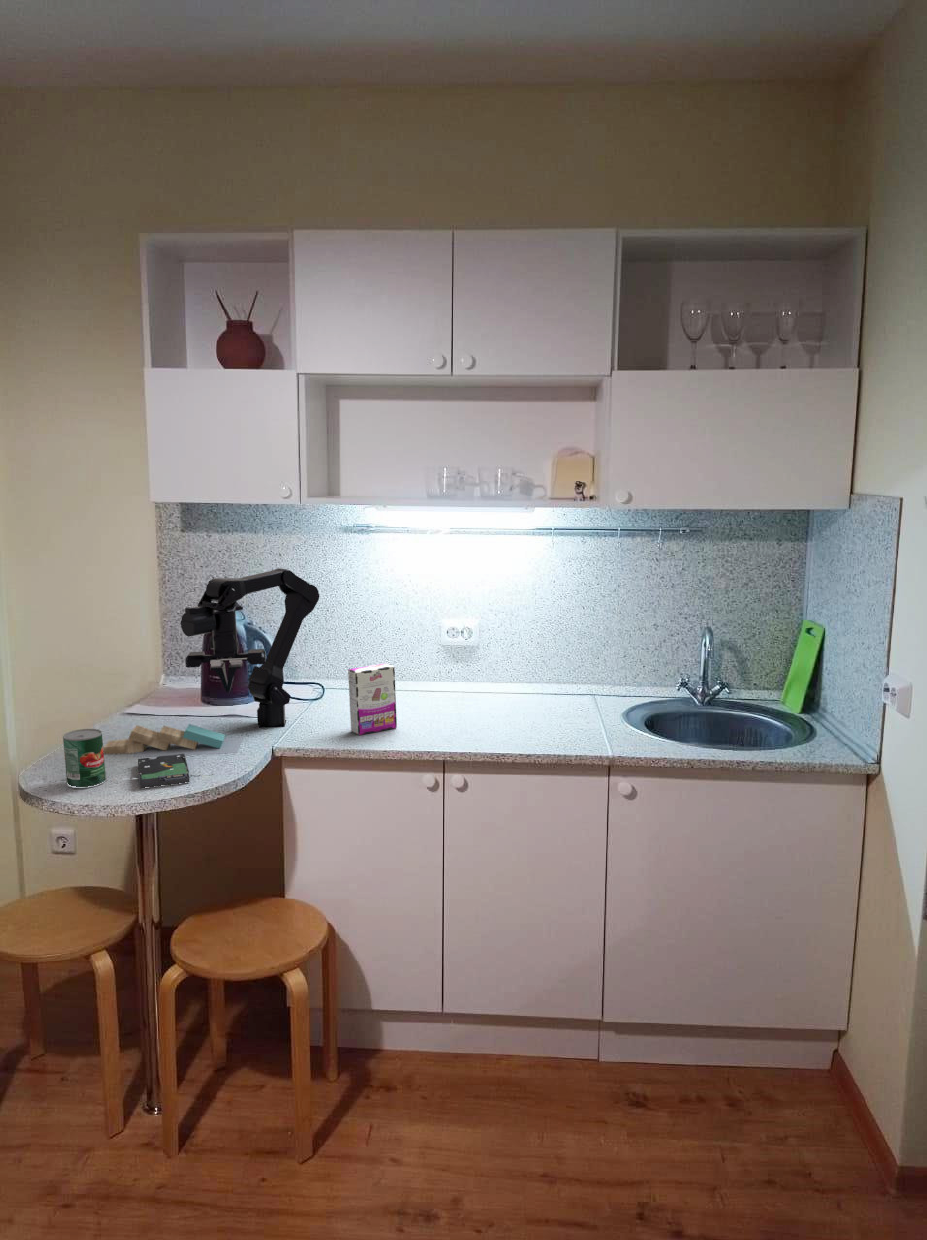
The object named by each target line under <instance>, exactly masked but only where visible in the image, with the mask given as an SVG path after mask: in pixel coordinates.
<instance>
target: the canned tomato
mask: <svg viewBox="0 0 927 1240" xmlns="http://www.w3.org/2000/svg"><path fill="white" fill-rule="evenodd" d="M62 739H63V740H62V742H63V752H64V764H65V777H66V784H67V783H68V784H69V785H71V786H76V787H88V786H94V785H97V784H100V783H102V782H104V781H105V780H106V781H107V778H106V767H105V766H106V765H105V756H104V755H105V754H104V748H103V747H104V743H103V731H102V730H101V729H98V728H80V729H75V730H70V731H68V732H66V733H64V734H62ZM106 781H105V782H106ZM105 782H104V783H105Z"/></svg>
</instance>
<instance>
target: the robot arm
mask: <svg viewBox="0 0 927 1240" xmlns="http://www.w3.org/2000/svg"><path fill="white" fill-rule="evenodd" d="M276 587H278V588H279V590H280V592H281V593H283V594H284V595H285V598H284V608H285V613H284V615H283V617H282V620H281V623H280V625H279V627H278V630H277V632H276V635H275V638H274V640H273V642H272V644H271V646H270V649H269V651H268V654H267V656H266V650H265V649H264V648H255V649H254V648H252V649H251V648H250V649H249V650H248V652H244V653H242V652H241V653H239V652H240V643H239V639H238V634H237V633H238V632H237V631H238V630H237V615H236V614H237V613H236V612H237V611H242V610H244V607H243V606H242V605H240V603H238V602H237V601H240V600H242V599H244V597H246V595H249V594H252V593H257V592H260V591H261V592H262V591H263V590H268V589H272V588H273V589H274V588H276ZM320 596H321V594H320V592H319V589H318V587H317V586H316V585H314V584H310V583H309V582H308V581H306V580H305V579H303V578H301V577H300V576H298V575H296V574H295V573H294V571H292V570H290V569H288V568H281V567H279V568H275V569H274V570H270V571H265V572H261V573H255V574H252V575H248V576H243V577H239V578H238V577H237V578H235V577H234V578H233V577H231V578H230V577H229V578H227V577H221V578H220V577H218V578H217V577H216V578H215V577H214V578H212V579H210V580H209V581H208V582H207V584H206V588H205V590H204V592H203V595H202V596H201V598H200V600H199V602H198V603H197V606H194V607H190V606H189V607H185V608H184V613H183V614H182V617H181V620H180V627H181V630H182V632H183V635H185V636H186V637H194V636H200V635H201V636H202V635H206V634H211V633H212V635H210V636H209V648H210V650H213V654H206V653H205V651H202V650H201V651H190V652H188V654H187V655H186V656H185V668H187V669H188V668H199V667H201V665H203V663H204V664H205V663H207V664H208V663H210V669H209V670H211V671H215V673H216V675H217V676H218V677H219V680H220V682H221V685H222V686H223V689H224V691H225V693H230V692H231V689H232V685H233V681H234V678H235V675H236V671H237V670H239V669H242V666H243V662H247V663H249V664H250V665H252V666H253V665H255V666H253V668H252V670H251V674H250V676H249V677H248V678H247V681H248V684H247V688H248V691H249V694H250V695H251V696H252V698H253V700H254V702H255V703H258V707H257V710H256V716H257V718H256V719H257V726H258V728H259V729H268V728H269V729H270V728H271V729H272V728H273V729H274V728H285V727H286V723H287V719H286V706H285V705H288V704H290V701H291V698H292V697H291V694H290V693H288V691H287V690H285V689H284V688H283V686H284V682H285V679H284V668H285V664H286V663H287V660H288V657H289V655H290V652H291V650H292V647H293V645H294V643H295V641H296V638H297V635H298V633H299V630H300V628H301V626H302V623H303V621H304V619H305V618H307V616H309V615H310V614H311V612H312V611H314V609H315V607H316V606H317V604H318V602H319V601H320ZM226 662H229V665H228V672H226V671H227V670H226ZM256 665H261V666H256ZM227 673H228V675H227Z"/></svg>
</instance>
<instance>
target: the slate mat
mask: <svg viewBox="0 0 927 1240" xmlns="http://www.w3.org/2000/svg"><path fill="white" fill-rule="evenodd" d="M243 741H244V737H225V739H224V742H223V744H222V746H221V748H220V749H219V748H216V747H212V746H209V745H205V744H202V743H199V744H198V745H197V747H196V749H195V750H193V749H190V748H186V747H182V746H179V745H175V744H171V745H170V746H169V748H168V749H167V750H166V751H165V750H161V749H158V748H155V747H152V746H149V745H148V746H147V748H146V749H145V750H144V751H143V752H134V753H133V755H132V758H142V757H143V758H149V757H159V756H169V755H177V754H185V756H194V755H219V754H221V755H222V754H237V753H238V752H239V750H240V748H241V745H242V743H243Z"/></svg>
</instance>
